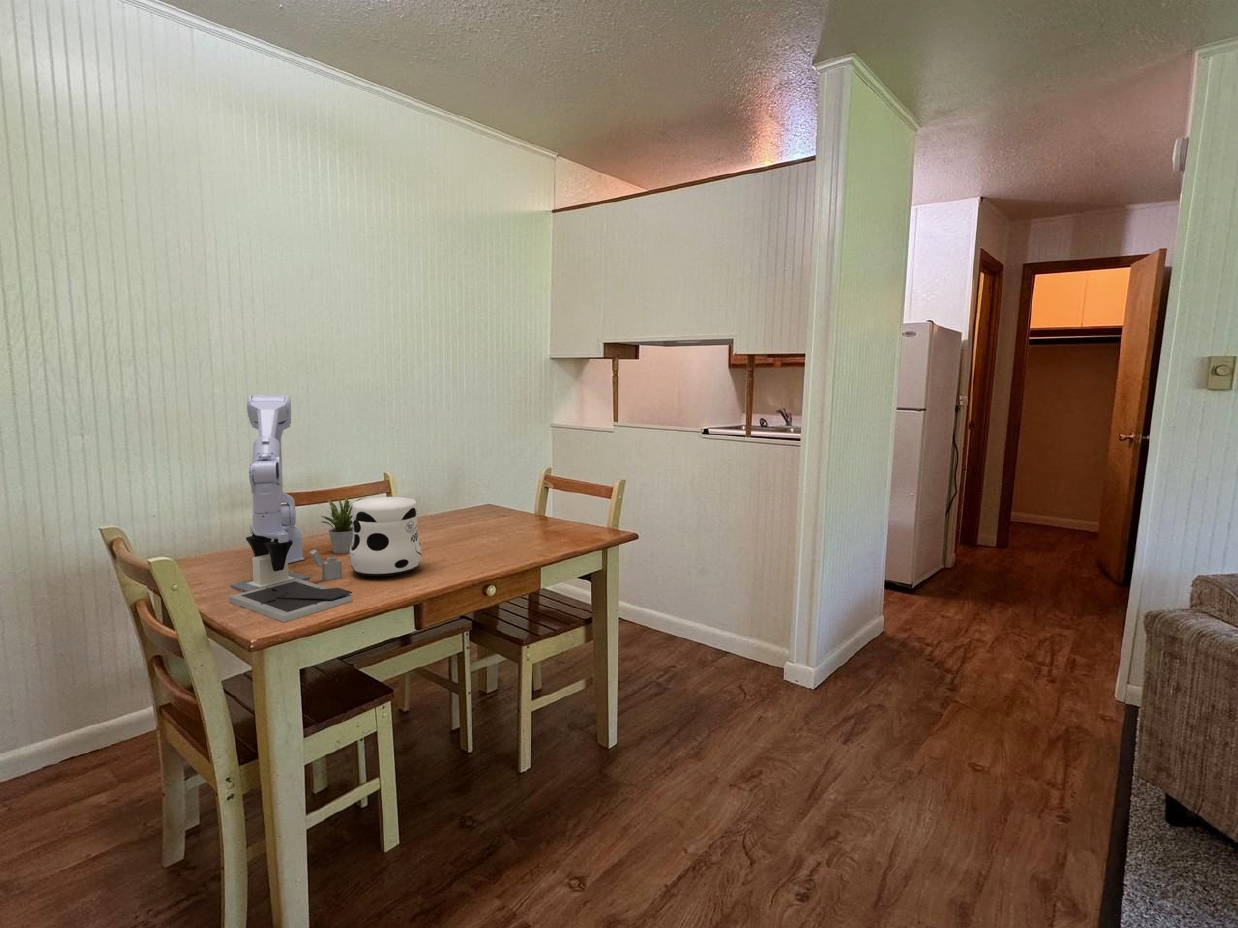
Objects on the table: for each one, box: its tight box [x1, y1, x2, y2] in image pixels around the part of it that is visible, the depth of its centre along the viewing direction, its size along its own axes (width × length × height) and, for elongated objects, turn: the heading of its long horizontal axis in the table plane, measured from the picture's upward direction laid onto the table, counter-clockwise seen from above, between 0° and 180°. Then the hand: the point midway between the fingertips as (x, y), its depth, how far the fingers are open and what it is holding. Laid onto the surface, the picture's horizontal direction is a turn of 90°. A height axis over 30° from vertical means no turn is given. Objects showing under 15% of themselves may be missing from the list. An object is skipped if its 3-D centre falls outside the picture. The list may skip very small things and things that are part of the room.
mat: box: [230, 570, 311, 592], centre depth 156 cm, size 14×9×1 cm, turn 148°
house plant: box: [317, 495, 367, 554], centre depth 185 cm, size 14×14×16 cm
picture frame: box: [228, 578, 353, 623], centre depth 144 cm, size 16×3×21 cm
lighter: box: [308, 548, 343, 582], centre depth 159 cm, size 7×2×8 cm, turn 138°
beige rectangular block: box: [251, 554, 289, 585], centre depth 156 cm, size 4×6×6 cm, turn 144°
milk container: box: [348, 496, 422, 578], centre depth 166 cm, size 17×17×18 cm
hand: (270, 567), depth 156 cm, fingers open, 7 cm apart
